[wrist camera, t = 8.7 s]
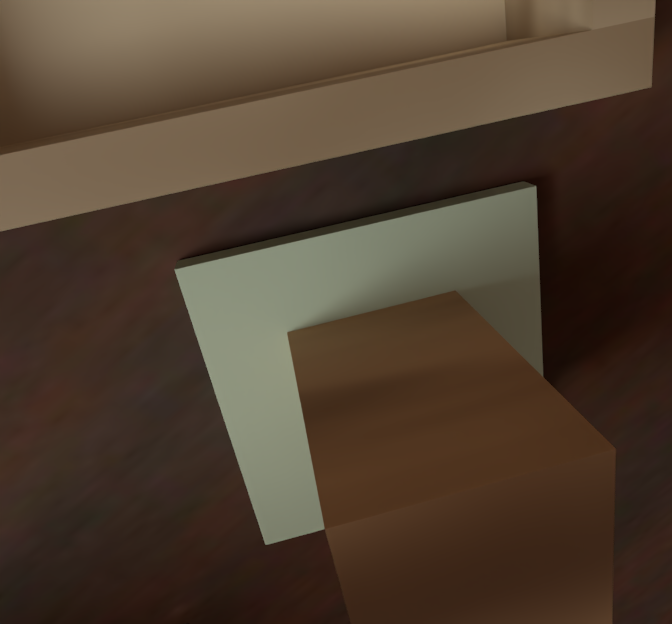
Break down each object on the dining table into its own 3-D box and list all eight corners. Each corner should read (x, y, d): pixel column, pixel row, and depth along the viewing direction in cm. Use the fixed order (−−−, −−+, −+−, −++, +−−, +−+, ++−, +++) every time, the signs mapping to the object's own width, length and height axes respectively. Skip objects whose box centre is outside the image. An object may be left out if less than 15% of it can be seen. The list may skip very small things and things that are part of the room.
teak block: (471, 429, 15) (612, 642, 9) (322, 469, 14) (375, 713, 9) (455, 290, 13) (615, 448, 7) (286, 332, 13) (325, 529, 7)
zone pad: (536, 455, 16) (546, 469, 15) (264, 528, 15) (265, 545, 15) (523, 181, 13) (536, 185, 12) (177, 261, 12) (174, 269, 12)
